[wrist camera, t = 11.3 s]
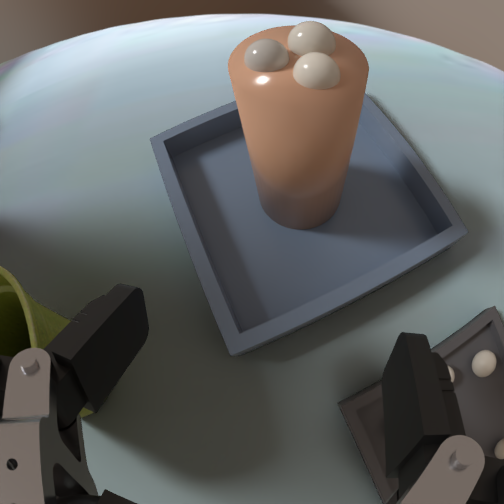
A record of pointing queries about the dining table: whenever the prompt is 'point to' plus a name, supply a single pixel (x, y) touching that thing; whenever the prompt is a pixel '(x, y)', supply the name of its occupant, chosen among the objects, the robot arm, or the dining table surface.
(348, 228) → the shallow square tray
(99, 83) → the dining table surface
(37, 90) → the dining table surface
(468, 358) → the parts tray
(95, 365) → the robot arm
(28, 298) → the plant pot
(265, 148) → the tan rounded pillar
